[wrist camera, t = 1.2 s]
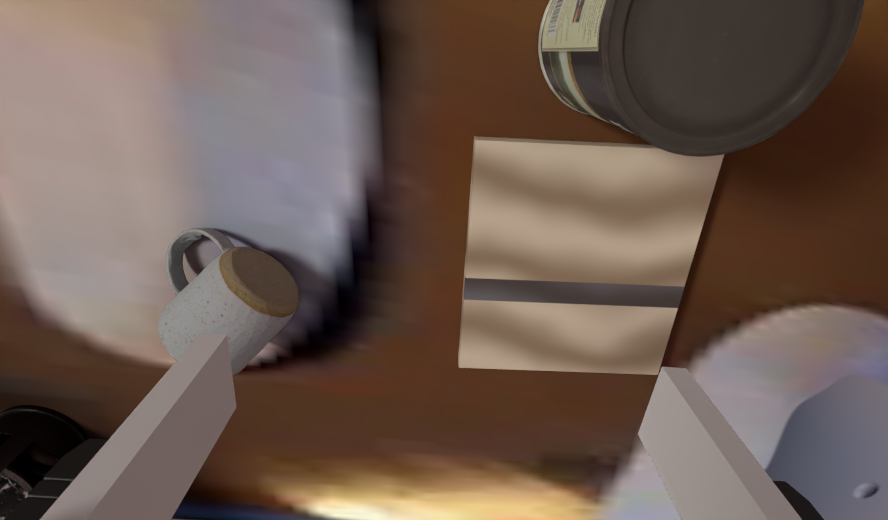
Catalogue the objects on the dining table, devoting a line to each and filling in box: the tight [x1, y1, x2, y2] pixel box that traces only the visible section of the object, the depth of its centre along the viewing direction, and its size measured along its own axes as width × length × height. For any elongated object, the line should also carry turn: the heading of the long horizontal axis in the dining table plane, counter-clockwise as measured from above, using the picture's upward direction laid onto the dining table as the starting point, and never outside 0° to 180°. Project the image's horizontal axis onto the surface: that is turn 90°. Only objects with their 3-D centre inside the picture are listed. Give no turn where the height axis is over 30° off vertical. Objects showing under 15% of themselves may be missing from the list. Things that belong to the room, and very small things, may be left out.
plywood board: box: [458, 137, 724, 375], centre depth 37 cm, size 20×18×2 cm
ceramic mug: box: [158, 228, 300, 375], centre depth 35 cm, size 11×8×8 cm
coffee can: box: [538, 0, 864, 157], centre depth 25 cm, size 10×10×14 cm
